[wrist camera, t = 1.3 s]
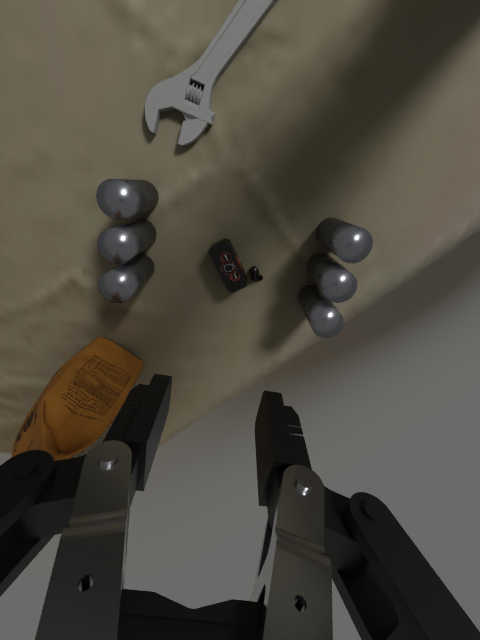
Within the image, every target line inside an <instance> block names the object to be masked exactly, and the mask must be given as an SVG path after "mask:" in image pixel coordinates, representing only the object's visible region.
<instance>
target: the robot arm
mask: <svg viewBox="0 0 480 640" xmlns="http://www.w3.org/2000/svg"><path fill="white" fill-rule="evenodd" d="M171 385H172V376H166V375H159V374H154V376H153V378H152V380H151V382H150V384H149V385H143V384H139V385H137V386H136V387H135V388H133V389H132V390H131V391H130V392H129V394H128V396H127V398H126V399H125V402H124V403H123V405H122V407H121V409H120V411H119V413H118V414H117V416H116V418H115V420H114V422H113V424H112V426H111V427H110V429H109V431H108V433H107V435H106V437H105V439H104V440H103V442H102V443H99V444H97V445H96V446H94V447H93V448H92V449H91V450H89V452H88V453H87V454H86V455H84V456H81V457H77V458H71V459H64V460H57V461H54V458H53V457H52V455H51V454H50V453H48V452H46V451H43V450H30V451H26V452H22V453H20V454H17V455H15V456H14V457H12V458H11V459H9V460H7V461H6V462H5V463H4V464H2V465H1V466H0V596H1V595H2V594H3V593H4V592H5V591H6V590H7V588H8V587H9V586H10V585H11V584H12V583H13V582H14V580H15V579H16V578H17V577H18V576H19V574H21V572H22V571H23V570H24V569H25V568H26V567H27V566H28V565H29V563H30V562H31V561H32V560H33V559H34V558H35V557H36V555H37V554H38V553H39V552H40V551H41V550H42V549H43V548H44V546H45V545H46V544H47V543H48V542H49V541H50V540H51V538H52V537H53V536H54V535H56V534H60V533H62V534H61V537H60V541H59V545H58V549H57V553H56V557H55V561H54V565H53V569H52V573H51V577H50V581H49V585H48V589H47V593H46V597H45V601H44V605H43V609H42V613H41V617H40V621H39V625H38V629H37V633H36V637H35V640H333V630H332V579H333V581H334V583H335V585H336V587H337V590H338V591H339V594H340V596H341V598H342V600H343V602H344V604H345V606H346V608H347V610H348V612H349V615H350V617H351V619H352V621H353V623H354V624H355V627H356V629H357V631H358V633H359V635H360V637H361V639H362V640H480V632H479V630H478V629H477V628H476V626H475V625H474V624H473V622H472V621H471V620H470V618H469V617H468V616H467V614H466V613H465V612H464V610H463V609H462V608H461V606H460V605H459V604H458V602H457V601H456V599H455V598H454V597H453V595H452V594H451V593H450V591H449V590H448V589H447V587H446V586H445V585H444V583H443V582H442V580H441V579H440V578H439V576H438V575H437V574H436V573H435V571H434V570H433V568H432V567H431V566H430V564H429V563H428V562H427V560H426V559H425V558H424V556H423V555H422V554H421V552H420V551H419V550H418V548H417V547H416V545H415V544H414V543H413V541H412V540H411V539H410V537H409V536H408V535H407V533H406V532H405V531H404V529H403V528H402V527H401V525H400V524H399V522H398V521H397V520H396V518H395V517H394V516H393V514H392V513H391V512H390V510H389V509H388V508H387V506H386V505H385V504H384V503H383V502H382V501H380V500H379V499H378V498H376V497H375V496H373V495H371V494H368V493H364V492H358V493H355V494H354V495H352V497H351V498H350V499H349V498H347V497H345V496H342V495H340V494H338V493H336V492H333V491H331V490H329V489H328V488H326V487H325V486H324V485H323V483H322V480H321V479H320V477H319V476H318V475H317V474H316V473H315V472H314V471H312V468H311V464H310V460H309V456H308V453H307V448H306V444H305V440H304V437H303V432H302V428H301V424H300V421H299V416H298V415H297V413H296V412H295V411H294V409H293V408H292V407H290V406H284V404H283V399H282V394H281V393H277V392H270V391H264V392H263V395H262V398H261V402H260V406H259V409H258V413H257V417H256V422H255V444H256V460H257V461H256V462H257V479H258V497H259V505H260V506H267V508H268V518H267V521H266V524H265V529H264V535H263V540H262V546H261V551H260V557H259V562H258V567H257V573H256V579H255V584H254V588H253V592H252V595H251V599H250V601H243V600H228V601H224V602H220V603H216V604H213V605H209V606H205V607H201V608H197V609H190V608H187V607H185V606H183V605H181V604H179V603H177V602H174V601H172V600H170V599H168V598H166V597H163V596H161V595H159V594H157V593H155V592H149V591H138V590H128V589H124V588H125V570H126V555H127V542H128V527H129V513H130V505H131V503H132V500H133V497H134V494H135V491H136V490H139V491H144V488H145V485H146V482H147V479H148V475H149V472H150V469H151V466H152V463H153V460H154V457H155V453H156V450H157V447H158V444H159V441H160V438H161V435H162V431H163V428H164V425H165V422H166V419H167V415H168V410H169V404H170V395H171Z"/></svg>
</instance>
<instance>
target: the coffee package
mask: <svg viewBox="0 0 480 640" xmlns="http://www.w3.org/2000/svg"><path fill="white" fill-rule="evenodd" d="M142 368H143V362H142V361H141V360H140V359H138V358H137V357H135V356H134V355H133V354H131V353H130V352H128V351H127V350H125V349H124V348H122V347H120V346H119V345H117V344H116V343H115V342H113V341H111V340H108V339H106V338H104V337H101V336H100V337H98V338H96V339H95V340H93V341H92V342H91V343H90V344H89V345H88V346H86V347H85V348H84V349H83V350H82V351H80V352H78V353H77V354H76V355H75V356H73V357H72V358H71V359H70V360H68V361H67V362H66V363H65V364H64V365H63V366H62V367H61V368H60V369H59V370H58V371H57V373H56V374H55V375H54V376H53V377H52V379H51V380H50V382H49V383H48V385H47V386H46V388H45V389H44V391H43V392H42V394H41V395H40V397H39V398H38V400H37V401H36V402H35V404H34V405H33V407H32V409H31V410H30V412H29V413H28V415H27V416H26V418H25V420H24V422H23V424H22V426H21V428H20V431H19V433H18V435H17V437H16V439H15V441H14V444H13V450H12V457H14V456H15V455H17V454H20V453H22V452H26V451H30V450H43V451H46V452H48V453H50V454H51V455H52V457H53V458H54V461H57V460H64V459H71V458H72V457H73V456H74V455H75V454H77V453H79V452H81V451H82V450H84V449H85V448H87V447H88V446H89V445H91V444H92V443H93V442H94V441H96V440H97V438H98V437H99V436H100V435H101V434H102V433H103V432H104V431H105V430H106V429H107V428H108V427H109V425H110V424H111V423H112V421H113V420H114V418H115V417H116V416H117V414H118V413H119V411H120V409H121V407H122V405H123V403H124V402H125V399H126V398H127V396H128V394H129V392H130V391H131V389H132V387H133V385H134V384H135V382H136V380H137V378H138V377H139V375H140V373H141V371H142ZM12 457H11V458H12Z"/></svg>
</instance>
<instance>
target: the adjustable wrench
mask: <svg viewBox="0 0 480 640" xmlns="http://www.w3.org/2000/svg"><path fill="white" fill-rule="evenodd" d="M275 1H276V0H239V1H238V3H237V4H236V6H235V7H234V9H233V10H232V12H231V13H230V15H229V16H228V18H227V19H226V21H225V22H224V24H223V25H222V27H221V28H220V30H219V31H218V33H217V34H216V36H215V37H214V39H213V40H212V42H211V43H210V45H209V46H208V48H207V49H206V51H205V52H204V54H203V55H202V56H201V58H200V59H199V60H198V61H197V62H196V63H195V64H193V65H192V66H191V67H189V68H188V69H186V70H184V71H183V72H181V73H179V74H178V75H176V76H174V77H171V78H169V79H167V80H164V81H162V82H160V83H158V84H157V85H155V86H154V87H153V88H152V90H151V91H150V92H149V94H148V96H147V100H146V103H145V117H146V122H147V125H148V128H149V130H150V131H151V132H153V133H155V134H157V129H158V124H159V120H160V115H161V112H163V111H167V110H172V109H176V110H178V111H180V112H181V113H182V114H183V115H184V117H185V119H186V121H183V124H182V128H181V132H180V136H179V141H178V144H179V145H181V146H187V145H189V144H191V143H193V142H194V141H196V140H197V139H198V138H199V137H200V136H201V135H202V134H203V132H204V131H205V129H206V128H207V126H208V124H209V125H211V126H212V125H213V119H214V116H215V112H213V111H212V112H211V110H210V106H211V95H212V91H213V88H214V86H215V83H216V81H217V80H218V78H219V76H220V75H221V74H222V72H223V71H224V70H225V68H226V67H227V66H228V64H229V63H230V62H231V60H232V59H233V58H234V56H235V55H236V53H237V52H238V51H239V49H240V48H241V47H242V45H243V44H244V43H245V41H246V40H247V39H248V37H249V36H250V35H251V33H252V32H253V31H254V29H255V28H256V27H257V25H258V24H259V23H260V21H261V20H262V19H263V17H264V16H265V15H266V13H267V12H268V11H269V9H270V8H271V7H272V5H273V4H274V3H275ZM192 81H193V82H195V83H197V84H200V85H202V86H204V89H203V91H202V90H201V89H202V87H200V89H198V85H197V86H196V88H195V87H194V85H195V84H194V83H193V85H192V86H191V82H192Z"/></svg>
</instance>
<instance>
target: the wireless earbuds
mask: <svg viewBox="0 0 480 640" xmlns="http://www.w3.org/2000/svg"><path fill="white" fill-rule="evenodd" d="M209 255H210V257H211V259H212V260H213V262H214V264H215V266H216V268H217V270H218V272H219V274H220V276H221V278H222V280H223V282H224V284H225V286H226V287H227V289H228V291H229V292H235V291H238V290H240V289H242V288H244V287H246V286H247V275H246V273H245V271H244V269H243V267H242V265H241V262H240V260H239V258H238V256H237V254H236V252H235V250H234V248H233V246H232V244H231V242H230V240H229V239H227V238H225V239H223V240H221V241H218V242H216V243H214V244H213V245H212V246H211V248H210V250H209ZM250 273H251V280H252V281H257V280H258V281H260V280H262V279H263V277H262V275H260V276H259V271H258V269H257V268H256V267H255V266H254V267H251V270H250Z"/></svg>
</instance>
